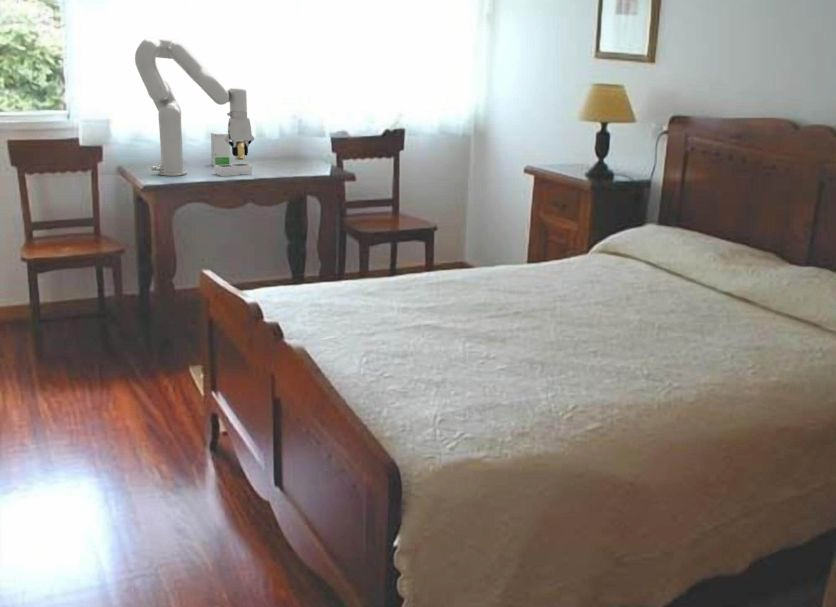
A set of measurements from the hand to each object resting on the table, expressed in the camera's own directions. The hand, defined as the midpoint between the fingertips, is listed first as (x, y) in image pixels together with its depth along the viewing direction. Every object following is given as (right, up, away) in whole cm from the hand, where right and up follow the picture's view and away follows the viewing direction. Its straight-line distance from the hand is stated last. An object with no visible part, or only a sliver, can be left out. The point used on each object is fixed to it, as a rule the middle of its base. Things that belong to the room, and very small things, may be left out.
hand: (240, 155), depth 426 cm
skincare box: (-14, -1, +25) cm, 28 cm away
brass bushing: (0, -2, +1) cm, 2 cm away
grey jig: (-3, -9, +1) cm, 9 cm away
